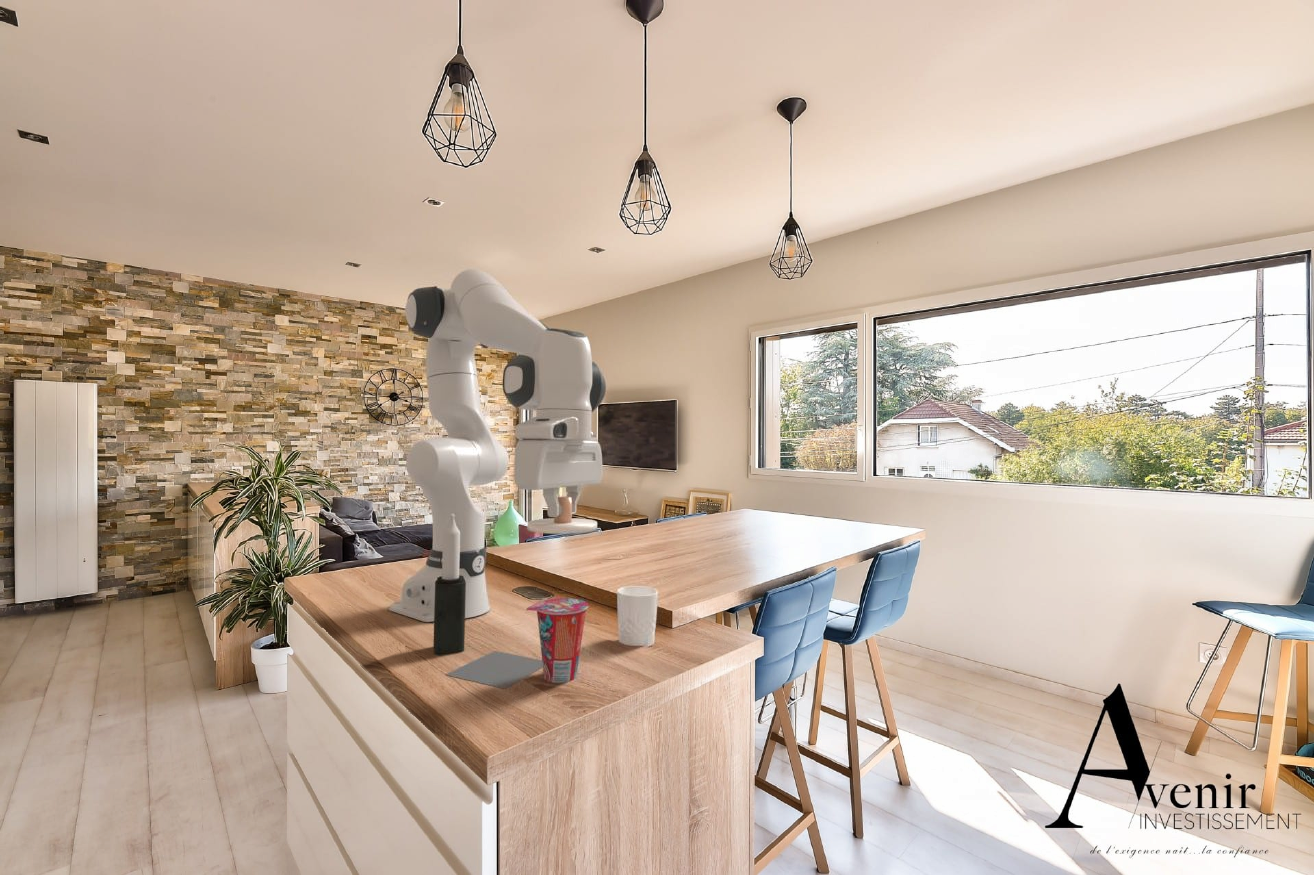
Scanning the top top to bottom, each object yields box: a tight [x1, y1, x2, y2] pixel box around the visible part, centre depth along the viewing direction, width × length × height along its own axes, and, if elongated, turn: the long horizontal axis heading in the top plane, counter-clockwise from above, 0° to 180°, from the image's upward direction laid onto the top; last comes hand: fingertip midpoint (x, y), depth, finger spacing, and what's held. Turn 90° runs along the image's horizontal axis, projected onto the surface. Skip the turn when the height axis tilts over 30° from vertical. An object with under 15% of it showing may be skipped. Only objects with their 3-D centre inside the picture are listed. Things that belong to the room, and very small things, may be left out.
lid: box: [527, 496, 598, 535], centre depth 91 cm, size 11×11×5 cm
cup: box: [525, 597, 589, 684], centre depth 91 cm, size 9×8×12 cm
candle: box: [432, 514, 466, 656], centre depth 103 cm, size 5×5×25 cm
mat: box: [445, 650, 543, 690], centre depth 94 cm, size 12×12×1 cm
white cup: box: [616, 585, 659, 648], centre depth 109 cm, size 8×8×10 cm
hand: (562, 515), depth 91 cm, fingers closed on lid, 3 cm apart
